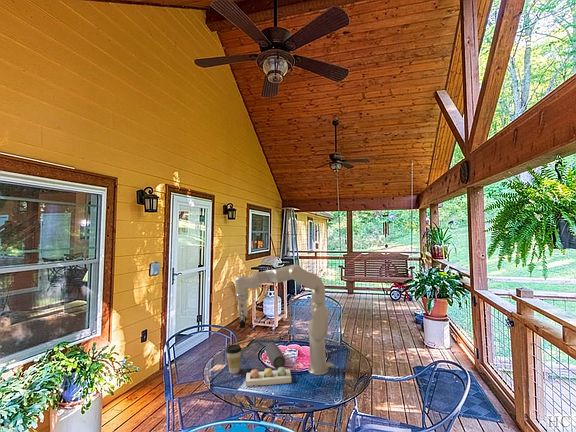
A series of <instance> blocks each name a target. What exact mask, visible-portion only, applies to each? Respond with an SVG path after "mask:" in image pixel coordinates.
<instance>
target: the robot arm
mask: <svg viewBox="0 0 576 432" xmlns="http://www.w3.org/2000/svg"><path fill="white" fill-rule="evenodd" d="M234 280H235V300H236V301H237V308H238V317H239V329H245V328H246V323H247V317H248V313H249V312H248V300H249V289H250V290H257V289H258V288H260V285H261V284H266V283H275V284H276V283H277V284H278V283H279V284H280V283H284V282H286V281H290V280H294V281H295V282H297V283H298V284H299V285H301V286H304V287H306V288H307V289H309V290H310V291H311V297H310V298H311V300H310V301H311V302H310V309H309V310H310V313H311V315H312V318H311V319H310V320H309V322H308V327H307V328H308V338H309V339H308V341H309V358H310V360H309V361H310V365H309V366H308V367H307V371H308V373H310V374H312V375H316V376H322V375H326V374H327V373H329V368H334V367H335V366H334V365H335V364H334V363H331V362H330V361H329V362H327V359H326V356H327V355H326V340H325V338H326V337H327V335H328V332H329V331H328V329H329V319H330V318H329V310H328V308H327V307H326V288H325V284H324V282H323V280H322V279H321V278H320V276H318V275H317V274H316V273H314V272H309V271H307V269H304V268H302V267H301V266H300V265H299V264H297V263H296V264H291V265H286V266H283V267H279V268H273V269H269V270H263V271H259V272H255V273H252V274H251V275H249V276H246V275H239V276H236V277H235V279H234Z"/></svg>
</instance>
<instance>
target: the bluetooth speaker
mask: <svg viewBox="0 0 576 432" xmlns="http://www.w3.org/2000/svg"><path fill="white" fill-rule="evenodd" d="M265 352H266V356H267V358H268V360H269V362H270V363H271V365H272V367H273V368H274V369H276V370H278V368H279V367H286V363H287V361H286V358H285V356H284V353H283V352H282V351H281V348H280V347H279V345H277V343H275V342H268V344H267V345H266V346H265Z"/></svg>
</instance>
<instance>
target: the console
mask: <svg viewBox="0 0 576 432" xmlns="http://www.w3.org/2000/svg"><path fill="white" fill-rule="evenodd" d="M285 370H286V374H285V375H283V376H280V375H278V369H276V370H272V376H270V377H265V372H264V370H263V371H262V370H261V371H258V377H257V378H251V371H249V372H246V376H245V387H246V386H250V387H252V386H251V385H255V386H256V387H258V386H257V385H261V386H268V385H269V386H270V385H278V384H280V385H281V384H291V383H292V374H291V370H290V368H288V369H287V368H285ZM255 386H254V387H255Z"/></svg>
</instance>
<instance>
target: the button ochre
mask: <svg viewBox="0 0 576 432" xmlns="http://www.w3.org/2000/svg"><path fill="white" fill-rule="evenodd" d="M263 371H264V372H265V377H270V376H272V371H273V370H272V368H270V367H267V368H265V369H264V370H263Z"/></svg>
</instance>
